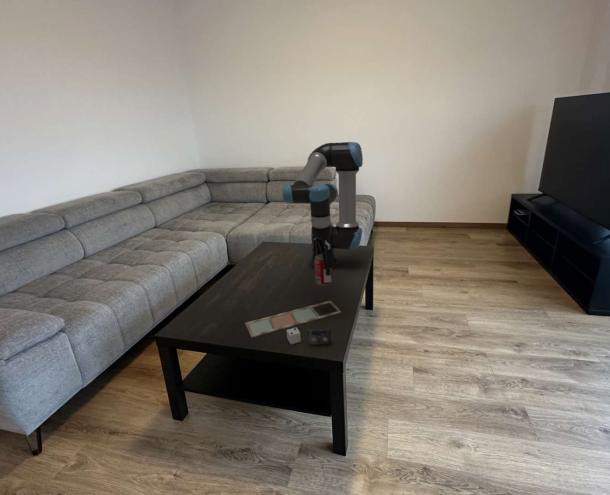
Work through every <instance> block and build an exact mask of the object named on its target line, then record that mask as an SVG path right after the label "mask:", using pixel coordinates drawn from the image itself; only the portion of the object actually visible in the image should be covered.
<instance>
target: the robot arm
mask: <svg viewBox="0 0 610 495" xmlns="http://www.w3.org/2000/svg"><path fill="white" fill-rule="evenodd" d="M363 160H364V158H363V151H362V147H361V145H360V144H359V142H353V141H343V142H328V143H327V142H325V143H323V144H321V145H320V146H318V147H316V148H315V149H313V151H312V152H311V153H310V154H309V155H308V157H307V163H306V164H305V165H304V167H303V169H301V171H300V173H299V175H298V176H297V177H296V179H295V181H294V182H293V184H288V185H287V184H286V185H284V187H283V189H282V199H283V202H285V203H286V204H309V207H310V208H309V209H310V219H309V221H310V222H311V232H310V237H311V251H312V252H311V256H310V258H309V259H310V260H309V267H310V268H311V269H312V270H315V267H314V260H315V258H316V255H318V254H322V256H323V262H324V267H323V269H324V282H325V283H326V282H330V281H331V268H332V270H333V269H334V268H337V266H338V260H337V256H336V254H335V250H334V249H336V250H348V251H350V250H351V251H352V250H355V251H356V250H358V248H359V247H360V244H361V241H362V235H363V228H362V227H360V225H359V222H358V221H357V217H356V216H357V215H356V214H357V174H358V172H359V171H360V168H361V167H362V166H363V163H364V162H363ZM326 168H335V169H334V170H335V172H336V174H338V188H337V186H336V185H335V184H334V183H329V182H328V183H325V184H316V185H314V184H315V182H316V180H317V179H318V177H319V175H320V174H321V172H322V171H324V170H325V169H326ZM337 197H338V221H337V223H336V225H335V226H334V225H333V223H332V220H331V204H332V203H333V202H335V201H336V199H337Z"/></svg>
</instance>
